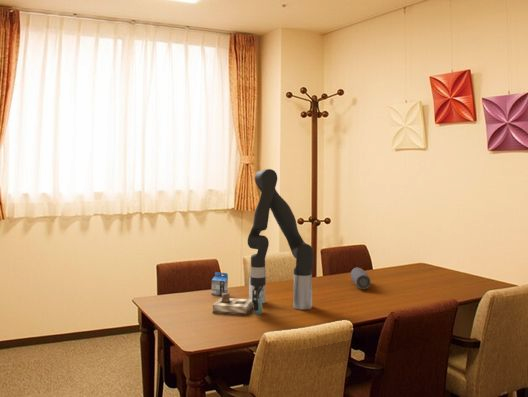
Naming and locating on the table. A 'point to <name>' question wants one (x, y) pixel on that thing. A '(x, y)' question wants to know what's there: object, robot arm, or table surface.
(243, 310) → the peg board
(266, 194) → the robot arm
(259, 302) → the teal pin
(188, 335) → the table surface
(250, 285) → the supplement box
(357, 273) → the bluetooth speaker
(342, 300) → the table surface
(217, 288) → the label tape box
